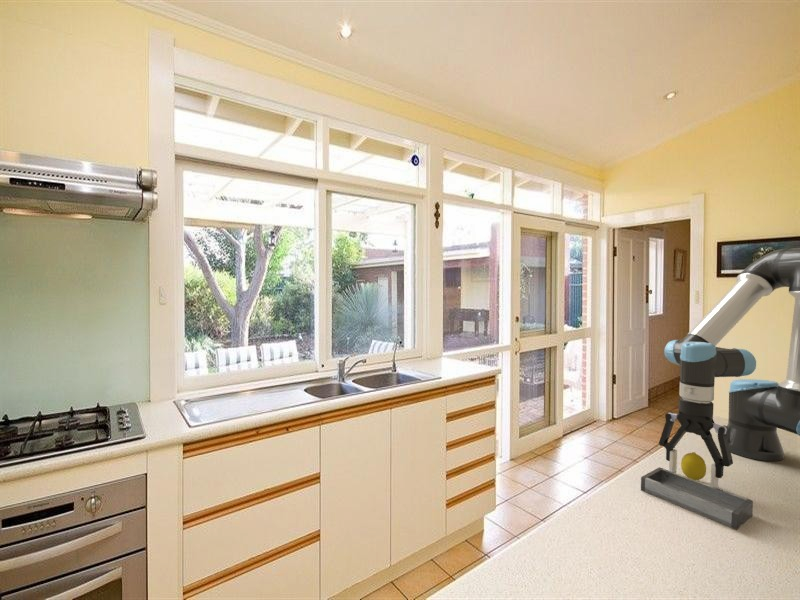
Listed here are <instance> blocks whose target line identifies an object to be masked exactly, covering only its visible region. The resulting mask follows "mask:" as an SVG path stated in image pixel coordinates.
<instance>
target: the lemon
mask: <svg viewBox="0 0 800 600" xmlns="http://www.w3.org/2000/svg"><path fill="white" fill-rule="evenodd" d="M680 462H681V463H680V469H681V471H682V473H683V475H684V476H685V477H688V478H691V479H694V480H696V481H700V480H702V479H704V477H705V476H706V474H707V464H706V462H705V459H703V457H702V456H701V455H699V454H697V453H696V452H694V451H692V452H689V453H686V454H685V455H683V457H682V458H681V461H680Z"/></svg>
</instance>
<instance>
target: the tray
mask: <svg viewBox="0 0 800 600" xmlns="http://www.w3.org/2000/svg"><path fill="white" fill-rule="evenodd" d="M640 491H642V492H644V493H647V494H649V495H651V496H654V497H656V498H659V499H661V500H664V501H666V502H669V503H671V504H673V505H676V506H678V507H680V508H683V509H685V510H688V511H689V512H693V513H695V514H697V515H700V516H702V517H704V518H707V519H709V520H712V521H713V522H717V523H719V524H721V525H723V526H726V527H728V528H731V529H732V530H736V531H738V530H739V529H740V528H741V527H742V526H743V525H744V524H745V523H746V522H747V521H749V519H751V517H752V516H753V513H754V500H753V499H749V498H746V497H743V496H741V495H738V494H735V493H733V492H730V491H727V490H724V489H721V488H719V487H718V488H716V487H713V486H711V484H708V483H706V482H705V483H704V482H701V481H700V480H694V479H691V478H688V477H687V476H686V475H682V474H679V473H677V472H676V473H674V472H671V471H669V469H665V468H662V467H656V468H654V470H652V471H650V472H648V473H646V474H645V475H642V476H641V477H640Z"/></svg>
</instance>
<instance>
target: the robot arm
mask: <svg viewBox="0 0 800 600" xmlns="http://www.w3.org/2000/svg"><path fill="white" fill-rule="evenodd" d="M735 282H736V283H734V285H732V286H731V288H730V289H729V290H728V291H727V292H726V293H725V294H724V295H723V296H722V297H721V298H720V299H719V300H718V301H717V303H716V304H714V305H713V306H712V308H711V309H710V310H709V311H707V313H706V314H705V315H704V316H703V317H702V318H701V319H700V320H699V321H698V323H696V324H695V325H694V327H693V328H692V329H690V331H689V332H688V333H687V334H686V335H685V336H684V337H683V338H682V339H672V340H670V341H668V342H667V344H666V345H665V346H664V356H665V358H666V359H667V361H669V362H670V363H672V364H674V365H678V366H679V367H680V369H679V390H678V393H679V396H680V397H679V399H678V413H673V412H672V411H669V412H668V413H665V423H664V426H663V429H662V431H661V432H662V433H661V436H660V438H659V440H658V441H659V442H658V445H659V446H660V447H663V448H664V449H665V452H666V453H665V454H666V455H665V459H666V461H668V462H669V467H668V468H669V469H668V470H669V471H671V472H674V473H677V469H678V468H677V467H678V449H675V448H676V446H677V445H678V444H679V442H680V440H681V439H682V438H683V437H684V435H685V434H686V433H689V434H690V433H691V434H695V435H697V436H700V437H701V439H702V440H703V442H704V444H705V446H706V448H707V450H708V452H709V454H710V456H711V458H712V460H713V463H712V464H711V470H710V471H711V473H710V486H713V487H716V488H719V479H722V478H723V476H724V467H730V466H732V465H733V464H734V461H733V456H732V454H735V455H737V456H741V457H744V458H748V459H753V460H758V461H766V462H778V461H782V460H783V459H784V449H783V446H782V443H781V440H780V437H779V434H778V432H777V431H778V430H777V429H779V430H783V431H784V432H785V431H786V432H789V433H792V434H795V435H798V436H800V247H792V248H789V247H788V248H781V249H776V250H773V251H771V252H769V253H766V254H765V255H762V256H761V257H759V258H758V259H756V260H754V261H753V262H752V263H751V264H749V265H748V266H747V267H744V269H742V271H741V272H740V273H739V274H738V275H737V276H736V279H735ZM780 288H788V294H790V295H791V296H792V297H793V298H794V305H793V306H794V307H793V315H792V324H791V333H790V343H789V350H788V351H789V352H788V359H787V368H786V378H785V380H784V381H782V382H780V383H779V382H778V381H774V380H768V379H766V380H765V379H756V378H755V379H754V378H753V379H751V378H750V379H749V378H746V379H745V378H744V379H743V378H739V377H744V376H745V377H746V376H750V375H751V374H752V373H754V372H755V370H756V369H757V360H756V358H755V356H754V354H753V353H751V352H750V351H749V350H747V349H744V348H736V347H733V348H725V347H720V346H719V347H718V346H717V345H718V344H719V343H720V342H721V341H722V340H723V339H724V338H725V336H727V334H729V332H730V331H732V329H733V328H734V327H735V326H736V325H737V324H738V323H739V322H740V321H741V320H742V319H743V318H744V317H745V315H747V314H748V313H749V311H750V310H751V309H752V308H753V307H754V306H755V305H756V304H757V303H758V302H759V301H760V300H761V299H762V297H768V296H770V295H771V294H772V293H773V292H774V291H775V290H777V289H780ZM729 377H731V378H732V377H733V378H739V379H734V380H732V381H731V382H730V385H729V391H728V422H727V425H725V424H724V425H721V424H718V423H715V420H714V419H713V418H714V403H713V401H714V400H715V381H716V380H715V379H716V378H729ZM676 421H678V423H679V424H680V427H679V428H678V429H677V431H676V433H675V434H674V436H672V438H671V439H670V436H671V433H672V430H673V427H674V425H675V424H674V423H675V422H676ZM712 429H714V431H715V433H716V434H717V440H718V443H719V448H718V446H717V444H716V443H715V440H714V438H713V434H712V433H711V430H712ZM669 439H670V441H669ZM719 449H720V450H719Z"/></svg>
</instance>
